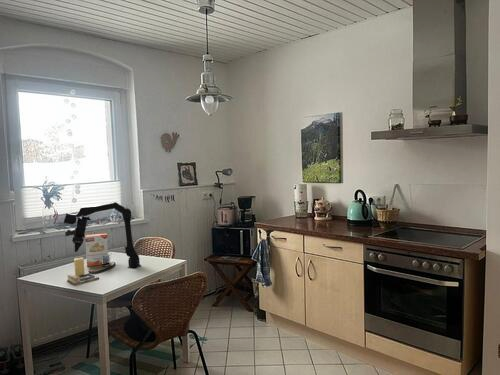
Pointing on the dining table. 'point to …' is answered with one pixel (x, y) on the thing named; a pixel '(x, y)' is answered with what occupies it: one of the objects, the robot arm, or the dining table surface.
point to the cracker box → (96, 248)
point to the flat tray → (81, 278)
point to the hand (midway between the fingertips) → (76, 250)
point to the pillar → (79, 266)
